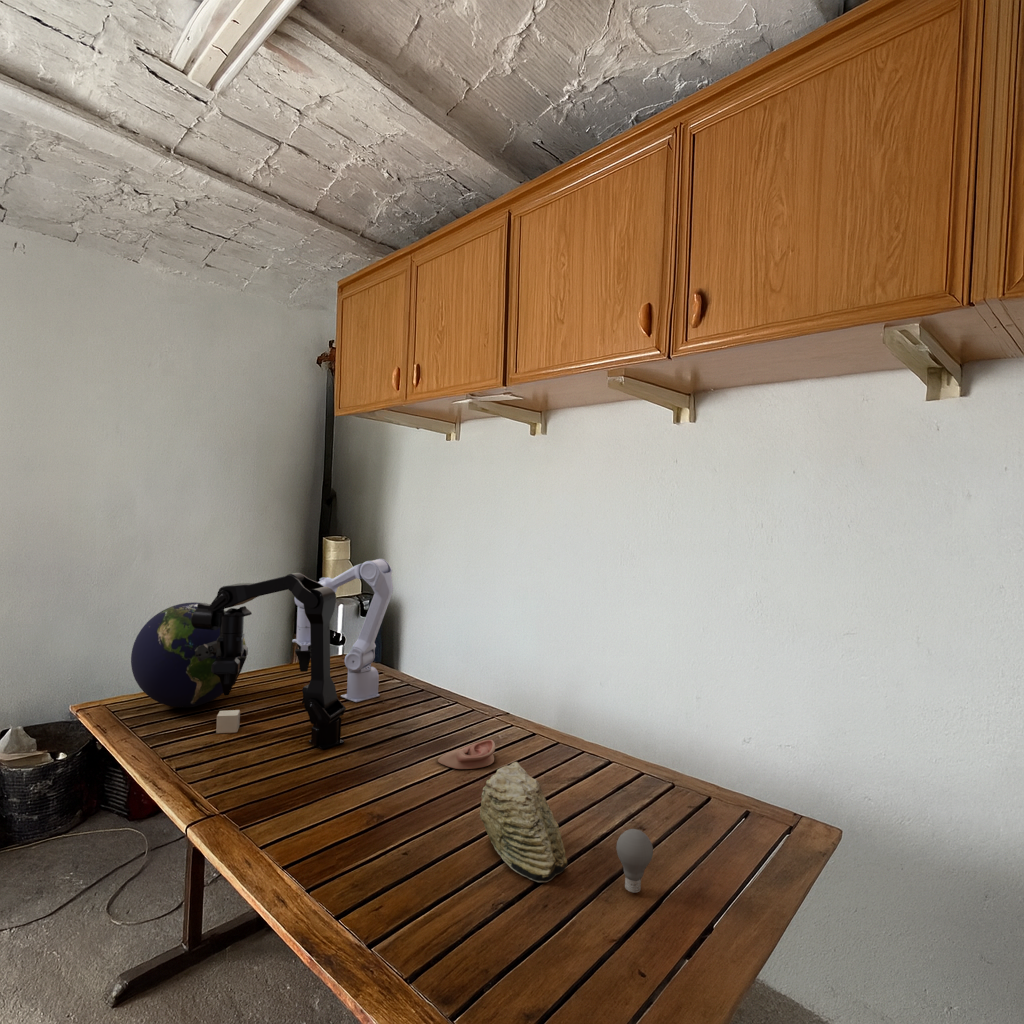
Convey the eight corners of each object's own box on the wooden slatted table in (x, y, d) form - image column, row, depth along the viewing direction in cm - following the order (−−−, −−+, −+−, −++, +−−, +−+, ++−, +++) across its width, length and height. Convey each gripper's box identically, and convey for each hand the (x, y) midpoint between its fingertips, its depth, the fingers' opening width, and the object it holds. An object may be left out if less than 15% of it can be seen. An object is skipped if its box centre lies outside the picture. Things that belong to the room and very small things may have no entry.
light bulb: (610, 879, 108) (613, 822, 108) (644, 879, 109) (647, 822, 109) (619, 902, 102) (622, 840, 102) (655, 901, 103) (658, 840, 103)
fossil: (501, 827, 124) (504, 751, 124) (575, 868, 111) (578, 784, 111) (467, 843, 118) (470, 763, 118) (541, 889, 105) (545, 799, 105)
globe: (211, 683, 207) (214, 592, 206) (264, 704, 189) (267, 604, 189) (110, 705, 182) (113, 601, 182) (160, 731, 165) (164, 616, 164)
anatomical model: (434, 749, 151) (448, 732, 162) (433, 766, 151) (447, 748, 162) (488, 756, 148) (499, 738, 159) (487, 773, 148) (498, 754, 160)
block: (219, 727, 170) (219, 710, 170) (239, 726, 171) (240, 709, 171) (216, 733, 166) (216, 716, 166) (237, 732, 167) (237, 715, 167)
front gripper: (205, 624, 175) (203, 681, 175) (190, 640, 157) (188, 702, 157) (249, 624, 178) (247, 679, 178) (238, 639, 160) (236, 700, 160)
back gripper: (294, 621, 209) (293, 662, 210) (291, 630, 195) (289, 674, 196) (317, 621, 211) (315, 662, 212) (315, 630, 197) (313, 674, 197)
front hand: (229, 690), depth 168 cm, fingers open, 9 cm apart
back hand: (304, 668), depth 204 cm, fingers open, 7 cm apart
